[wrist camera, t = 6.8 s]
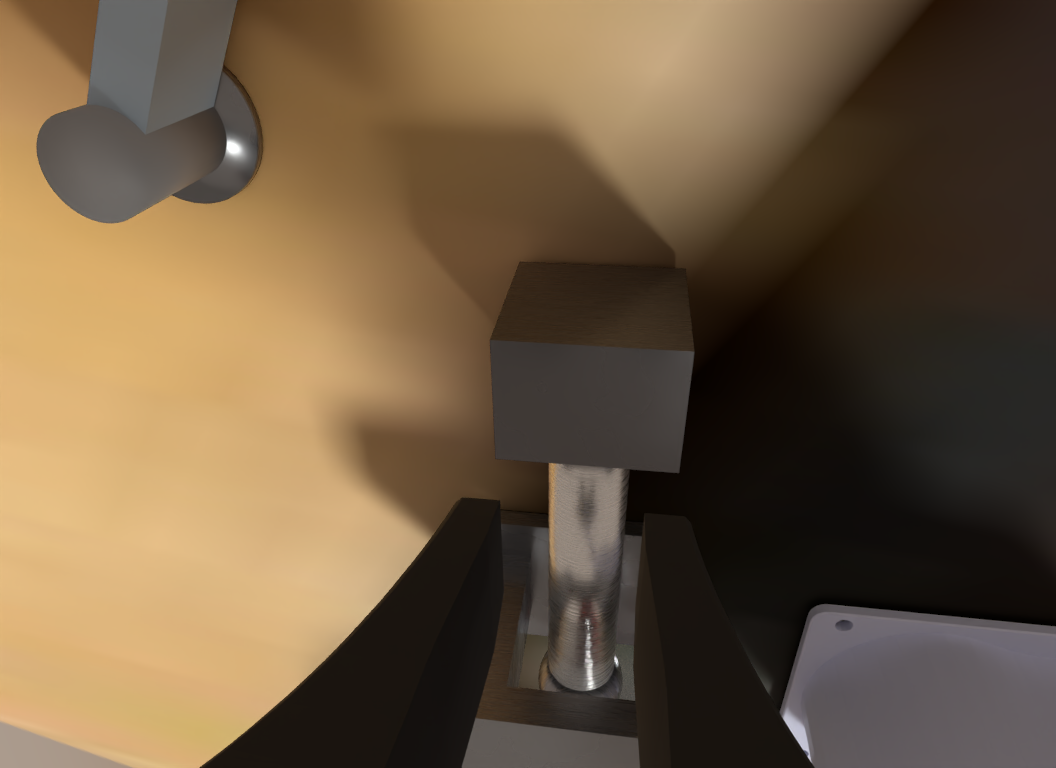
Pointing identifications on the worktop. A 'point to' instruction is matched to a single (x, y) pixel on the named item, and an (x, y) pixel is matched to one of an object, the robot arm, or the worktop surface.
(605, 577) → the hook rod
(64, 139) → the grey lever bar
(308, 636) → the worktop surface
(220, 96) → the base
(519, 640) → the eye bracket
